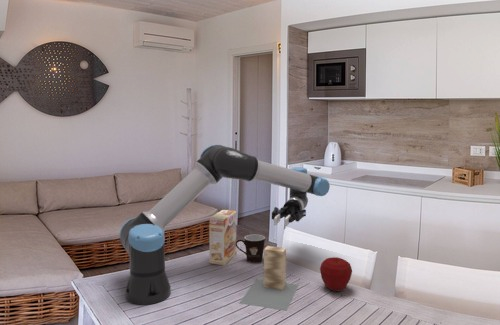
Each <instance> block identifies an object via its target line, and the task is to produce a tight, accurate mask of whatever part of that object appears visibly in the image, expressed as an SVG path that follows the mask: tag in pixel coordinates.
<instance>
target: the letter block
mask: <svg viewBox="0 0 500 325" xmlns="http://www.w3.org/2000/svg"><path fill="white" fill-rule="evenodd" d="M286 264H287V248H286V247H280V246H269V245H267V246H265V247H264V250H263V280H264V287H265V288H272V289H279V290H283V289H284V287H285V285H286V283H287V282H286V280H287V279H286V278H287V277H286V275H287V274H286V273H287V269H286V268H287V265H286Z"/></svg>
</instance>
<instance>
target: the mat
mask: <svg viewBox="0 0 500 325" xmlns="http://www.w3.org/2000/svg"><path fill="white" fill-rule="evenodd" d="M299 286H300V284H296V283H290V282H288V283H287V282H286V285H285V287H284V289H283V290H279V289H272V288H265V287H264V279H259V278H256V279H255V281H254V282H253V283H252V285H251V286H250V287H249V289H248V290H247V291H246V293H245V295H243V297H242V298H241V300H240V301H239V302H238V304H240V305H241V304H242V305H248V306H255V307H261V308H266V309H267V308H268V309H272V310H279V311H288V308H289V307H290V305H291V302H293V298H294V296H295V294H296V293H297V292H296V291H297V290H298V288H299Z"/></svg>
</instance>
